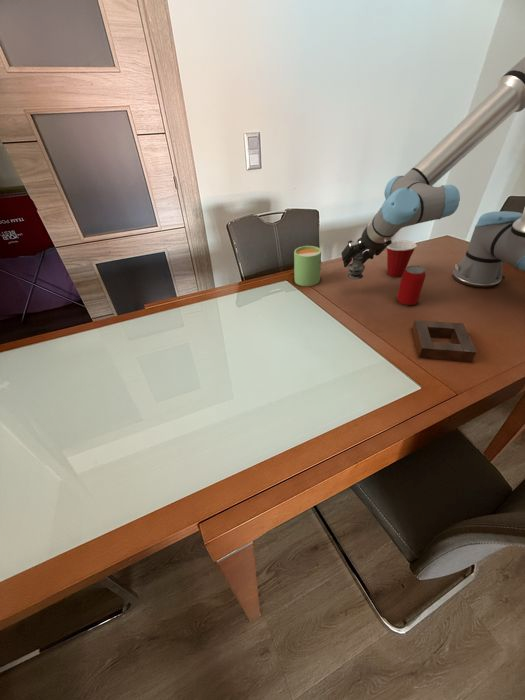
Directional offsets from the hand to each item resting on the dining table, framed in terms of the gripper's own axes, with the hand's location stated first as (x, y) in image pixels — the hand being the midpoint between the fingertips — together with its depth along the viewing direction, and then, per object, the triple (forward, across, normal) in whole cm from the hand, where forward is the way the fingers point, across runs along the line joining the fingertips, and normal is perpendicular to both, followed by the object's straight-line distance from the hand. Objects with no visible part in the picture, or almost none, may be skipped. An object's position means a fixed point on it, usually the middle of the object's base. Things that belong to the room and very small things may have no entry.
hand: (352, 262), depth 109 cm
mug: (+14, -14, 0) cm, 20 cm away
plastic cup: (+10, +20, -3) cm, 23 cm away
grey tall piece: (0, 0, -5) cm, 5 cm away
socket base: (-21, +12, -34) cm, 42 cm away
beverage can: (-4, +15, -18) cm, 23 cm away
